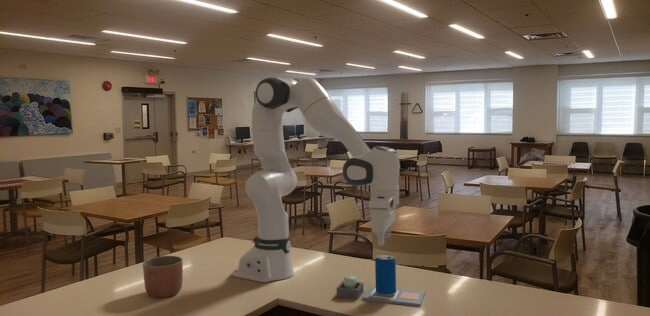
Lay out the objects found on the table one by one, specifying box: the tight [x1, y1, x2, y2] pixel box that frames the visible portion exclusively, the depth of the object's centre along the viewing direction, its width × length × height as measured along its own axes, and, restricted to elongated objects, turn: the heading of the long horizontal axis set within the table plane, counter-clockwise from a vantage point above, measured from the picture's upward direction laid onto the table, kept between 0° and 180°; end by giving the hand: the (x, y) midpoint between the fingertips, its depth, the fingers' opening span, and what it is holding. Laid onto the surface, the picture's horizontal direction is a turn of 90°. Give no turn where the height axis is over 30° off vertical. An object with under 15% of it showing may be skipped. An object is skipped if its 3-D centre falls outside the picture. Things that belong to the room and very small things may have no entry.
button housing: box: [336, 280, 364, 300], centre depth 154 cm, size 7×7×3 cm
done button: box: [343, 275, 357, 289], centre depth 154 cm, size 4×4×4 cm
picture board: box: [362, 285, 426, 307], centre depth 151 cm, size 18×11×1 cm, turn 71°
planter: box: [142, 255, 184, 299], centre depth 156 cm, size 12×12×11 cm
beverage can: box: [374, 253, 397, 296], centre depth 152 cm, size 6×6×12 cm
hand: (384, 241), depth 151 cm, fingers open, 8 cm apart
